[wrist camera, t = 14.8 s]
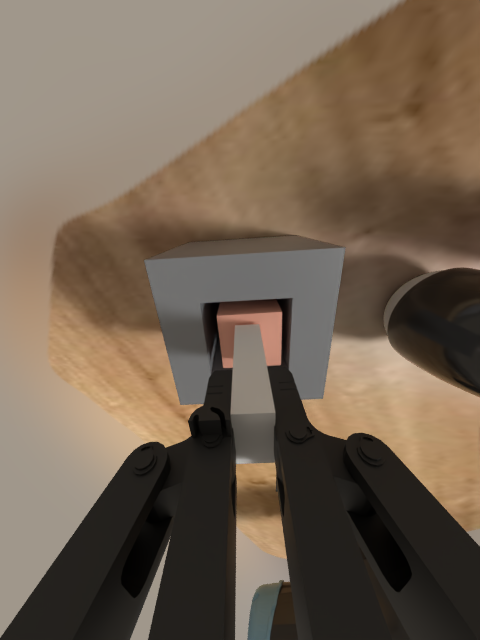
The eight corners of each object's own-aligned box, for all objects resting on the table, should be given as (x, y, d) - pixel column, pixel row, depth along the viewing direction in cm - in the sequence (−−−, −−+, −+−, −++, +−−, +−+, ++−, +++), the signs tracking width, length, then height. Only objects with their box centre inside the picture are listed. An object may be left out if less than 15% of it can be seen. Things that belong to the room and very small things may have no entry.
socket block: (291, 330, 26) (322, 398, 16) (203, 335, 26) (180, 404, 16) (295, 235, 21) (345, 247, 11) (188, 242, 21) (144, 260, 11)
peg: (265, 309, 23) (281, 365, 14) (229, 311, 23) (223, 368, 14) (264, 274, 22) (281, 311, 13) (226, 276, 22) (216, 315, 13)
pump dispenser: (371, 267, 23) (578, 340, 9) (473, 254, 22) (865, 309, 8) (361, 346, 27) (488, 478, 13) (445, 337, 26) (671, 464, 12)
